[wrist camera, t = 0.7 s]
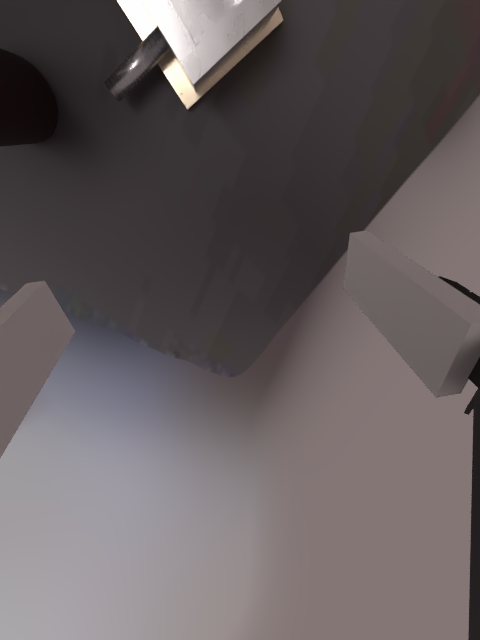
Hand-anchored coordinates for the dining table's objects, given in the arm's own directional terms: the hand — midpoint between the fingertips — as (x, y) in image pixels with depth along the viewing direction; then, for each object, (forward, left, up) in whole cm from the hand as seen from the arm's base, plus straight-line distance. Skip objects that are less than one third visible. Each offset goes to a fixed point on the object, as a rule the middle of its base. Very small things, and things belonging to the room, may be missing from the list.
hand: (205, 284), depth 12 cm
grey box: (-11, +6, -24) cm, 27 cm away
